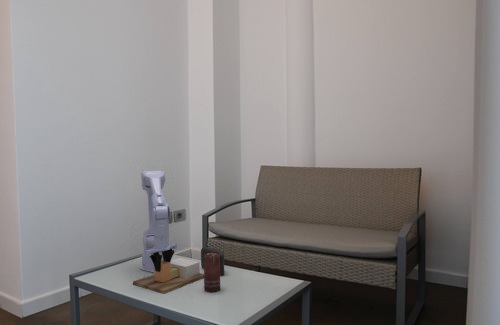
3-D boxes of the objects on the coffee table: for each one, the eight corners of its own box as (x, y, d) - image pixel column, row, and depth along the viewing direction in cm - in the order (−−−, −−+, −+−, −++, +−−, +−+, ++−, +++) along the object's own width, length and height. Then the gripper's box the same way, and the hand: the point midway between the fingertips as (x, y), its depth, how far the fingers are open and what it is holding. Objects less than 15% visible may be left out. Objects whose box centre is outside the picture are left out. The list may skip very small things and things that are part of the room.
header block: (165, 273, 171) (165, 262, 171) (179, 268, 178) (179, 257, 178) (186, 278, 164) (185, 266, 164) (199, 273, 171) (199, 262, 171)
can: (208, 293, 151) (207, 256, 150) (201, 288, 156) (201, 252, 156) (223, 290, 153) (222, 254, 153) (216, 285, 159) (216, 250, 158)
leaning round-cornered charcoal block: (230, 274, 173) (229, 252, 173) (221, 276, 170) (221, 254, 170) (208, 266, 186) (208, 245, 185) (200, 268, 183) (199, 247, 183)
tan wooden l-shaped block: (154, 280, 162) (154, 262, 162) (180, 271, 173) (179, 254, 173) (162, 282, 159) (162, 264, 159) (188, 273, 171) (188, 256, 170)
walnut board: (132, 284, 161) (132, 281, 161) (175, 269, 180) (175, 267, 180) (163, 293, 151) (163, 290, 151) (205, 277, 170) (205, 274, 169)
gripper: (154, 240, 153) (154, 276, 154) (181, 233, 165) (182, 266, 165) (141, 238, 157) (142, 273, 158) (169, 231, 169) (170, 264, 170)
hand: (162, 269), depth 162 cm, fingers closed on tan wooden l-shaped block, 4 cm apart
